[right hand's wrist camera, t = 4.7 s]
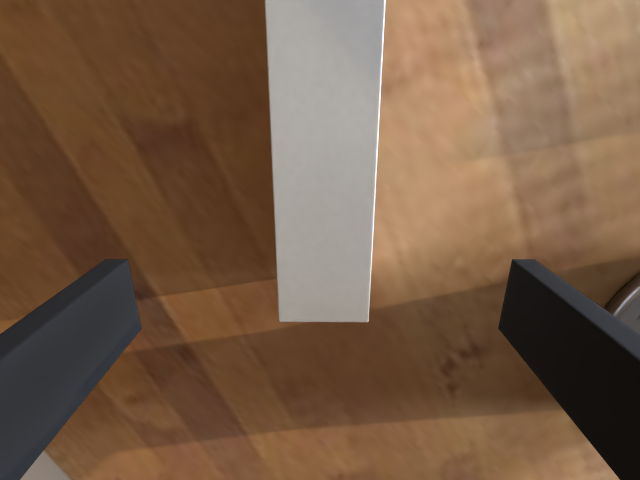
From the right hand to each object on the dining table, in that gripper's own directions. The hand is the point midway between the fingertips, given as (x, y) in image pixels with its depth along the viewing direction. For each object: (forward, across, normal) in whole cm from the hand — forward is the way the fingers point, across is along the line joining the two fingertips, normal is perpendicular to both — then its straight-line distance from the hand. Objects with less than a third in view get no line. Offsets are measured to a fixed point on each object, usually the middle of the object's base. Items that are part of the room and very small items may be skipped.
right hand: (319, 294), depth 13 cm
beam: (+16, 0, -33) cm, 37 cm away
